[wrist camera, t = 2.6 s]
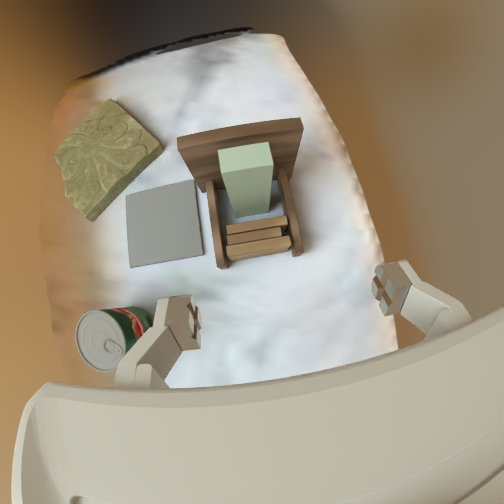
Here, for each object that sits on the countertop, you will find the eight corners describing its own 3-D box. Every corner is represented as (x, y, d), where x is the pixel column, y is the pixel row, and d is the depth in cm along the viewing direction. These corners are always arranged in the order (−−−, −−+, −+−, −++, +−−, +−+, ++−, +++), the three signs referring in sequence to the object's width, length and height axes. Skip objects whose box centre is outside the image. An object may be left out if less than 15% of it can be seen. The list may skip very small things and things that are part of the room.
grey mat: (203, 255, 40) (202, 254, 39) (131, 267, 40) (129, 267, 39) (194, 181, 42) (193, 179, 41) (127, 197, 42) (125, 195, 41)
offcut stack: (288, 251, 40) (293, 244, 34) (232, 261, 40) (227, 255, 34) (283, 223, 40) (287, 212, 34) (227, 233, 40) (222, 223, 34)
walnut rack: (307, 254, 40) (332, 234, 26) (212, 270, 40) (188, 259, 26) (288, 168, 42) (300, 117, 28) (201, 183, 42) (176, 137, 28)
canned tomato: (110, 344, 38) (71, 356, 27) (119, 300, 39) (80, 300, 28) (152, 362, 38) (120, 382, 27) (163, 316, 39) (131, 323, 28)
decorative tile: (115, 103, 46) (108, 94, 42) (166, 151, 43) (159, 141, 40) (54, 165, 44) (44, 159, 41) (91, 227, 42) (80, 222, 38)
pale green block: (268, 212, 41) (273, 164, 25) (235, 218, 41) (221, 173, 25) (265, 196, 41) (268, 141, 25) (232, 201, 41) (217, 150, 25)
